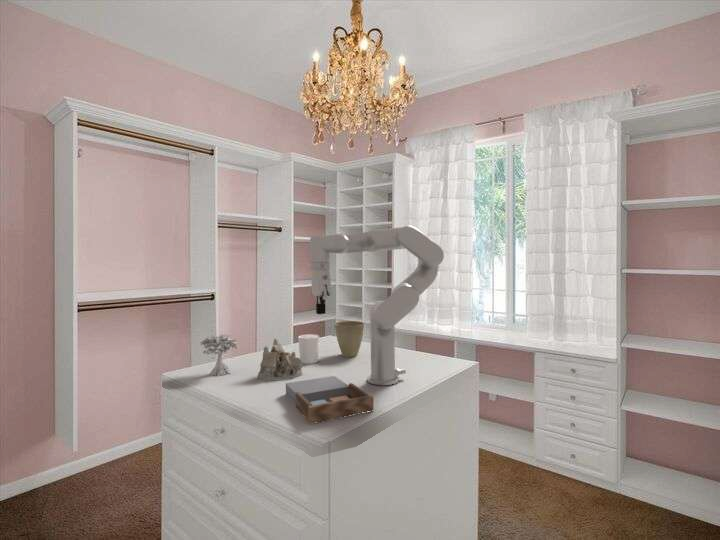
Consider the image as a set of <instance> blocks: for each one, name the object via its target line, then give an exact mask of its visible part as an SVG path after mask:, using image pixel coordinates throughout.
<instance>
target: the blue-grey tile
mask: <svg viewBox="0 0 720 540" xmlns="http://www.w3.org/2000/svg"><path fill="white" fill-rule="evenodd" d="M310 403H311V404H312V405H319V404H324V403H329V401H328V402H327V401H325V400H324V399H323V400H317V401H312V402H310Z"/></svg>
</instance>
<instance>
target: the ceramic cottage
mask: <svg viewBox="0 0 720 540" xmlns="http://www.w3.org/2000/svg"><path fill="white" fill-rule="evenodd" d="M302 365H304V364H303V363H302V361H301V360H300V357H296V352H295V351H292V352H291V353H290V352H285V350H284V348H283V347H282V345H281V343H279V341H278V339H277V338H274V339H273V343H272V347H271V350H270V349H269V346H267V345H266V346H264V347H263V353H262V359H261V362H260V364H259V366H260V369H259V371H258V372H257V378H256V379H257V380H260V381H270V382H271V381H272V382H273V381H280V380H282V381H283V380H290V379H296V378H299V377H301V376H302V375H303V371H302Z"/></svg>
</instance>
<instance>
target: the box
mask: <svg viewBox="0 0 720 540" xmlns="http://www.w3.org/2000/svg"><path fill="white" fill-rule="evenodd" d="M348 385H349V398H350V399H346V400H340V401H335V402H330V403H329V402H328V403H324V404H319V405H312V404H311V403H310V402H309V401H308V400H307V399H306V398H305V397H304V396H303V395H302V394H301V393H300V392H296V405H295V408H296V409H297V410H298V412H299V413H302V414H303V415H304V416H305V417H306V418H305V417H304V416H303V415H302V414H301V415H302V416H303V417H304V418H305V419H306V420H307V424H309V425H312V424H311V423H314V424H316V423H315V422H319V423H323V422H322V421H324V422H328V421H327V420H329V421H332V420H331V419H334V420H336V419H335V418H339V419H341V418H340V417H344V416H349V415H353V414H358V413H362V412H367V411H372V410H373V411H374V395H372V394H369V393H368V392H367V391H365V390H363V389H362V388H360V387H358V386H357V385H356V384H354V383H348ZM349 417H350V416H349ZM344 418H345V417H344Z"/></svg>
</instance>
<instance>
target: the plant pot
mask: <svg viewBox="0 0 720 540" xmlns="http://www.w3.org/2000/svg"><path fill="white" fill-rule="evenodd" d="M364 329H365V322H363V321H360V320H359V321H358V320H345V321H344V320H343V321H337V322H334V331H335V336H336V339H337V343H338V347H339V350H340V352H341V354H342V357H345V358H352V357H356V356H358V353H359V351H360V348H361V345H362V341H363V337H364Z"/></svg>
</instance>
